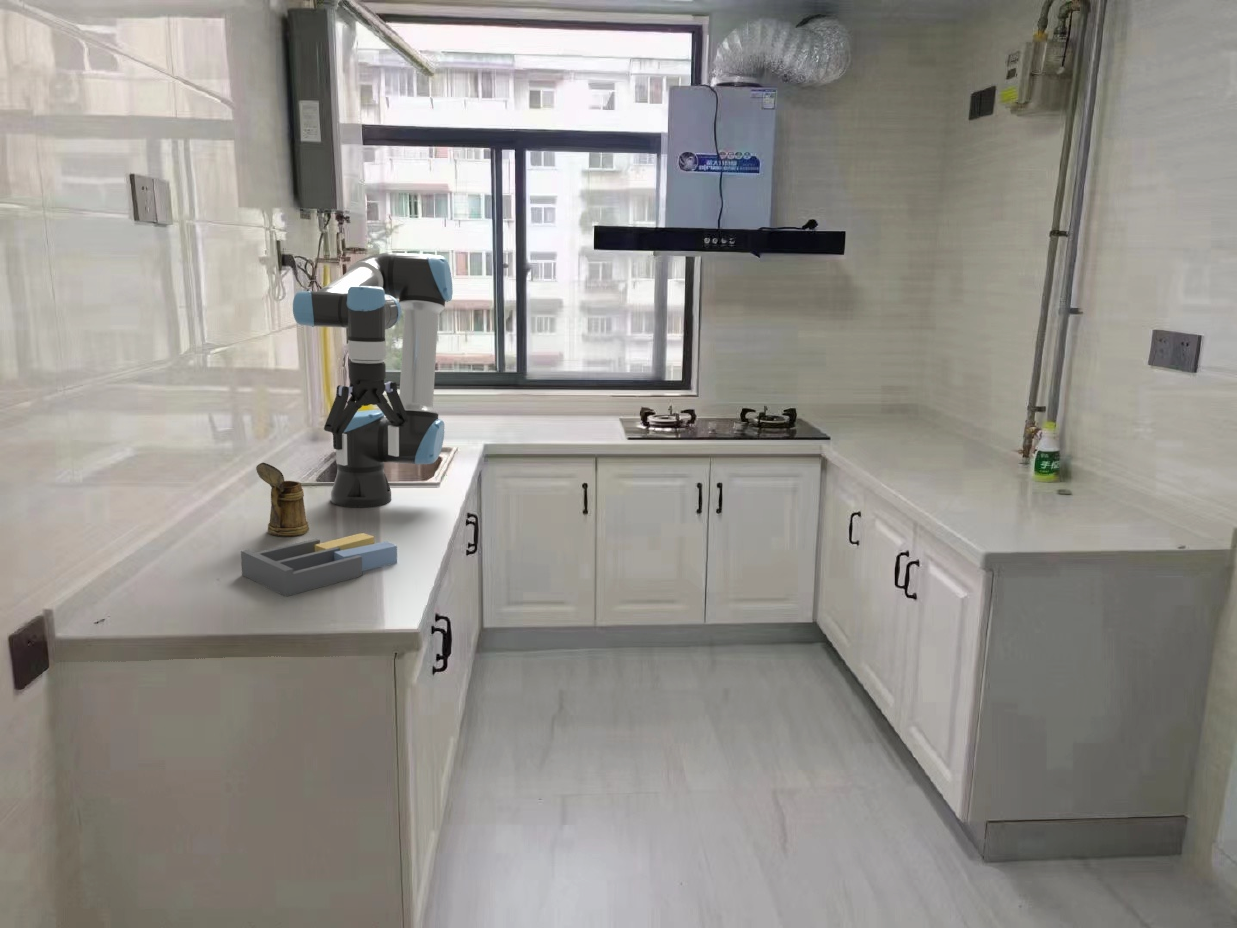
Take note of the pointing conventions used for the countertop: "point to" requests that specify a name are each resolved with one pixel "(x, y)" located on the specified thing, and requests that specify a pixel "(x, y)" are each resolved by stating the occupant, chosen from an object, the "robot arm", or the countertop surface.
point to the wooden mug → (284, 503)
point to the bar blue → (371, 554)
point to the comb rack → (298, 567)
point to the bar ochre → (347, 542)
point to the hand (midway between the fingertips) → (368, 459)
